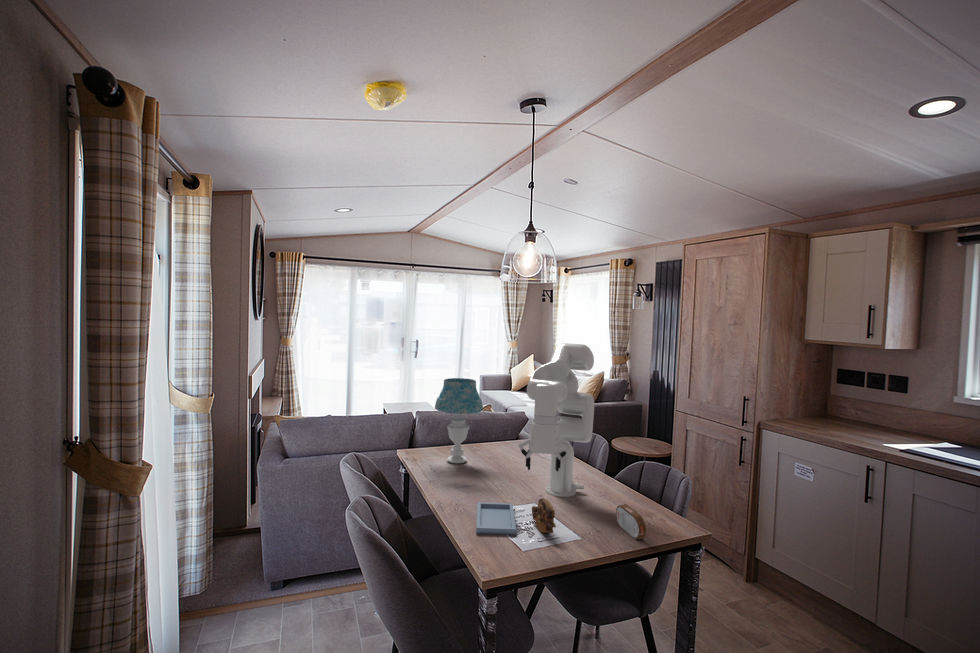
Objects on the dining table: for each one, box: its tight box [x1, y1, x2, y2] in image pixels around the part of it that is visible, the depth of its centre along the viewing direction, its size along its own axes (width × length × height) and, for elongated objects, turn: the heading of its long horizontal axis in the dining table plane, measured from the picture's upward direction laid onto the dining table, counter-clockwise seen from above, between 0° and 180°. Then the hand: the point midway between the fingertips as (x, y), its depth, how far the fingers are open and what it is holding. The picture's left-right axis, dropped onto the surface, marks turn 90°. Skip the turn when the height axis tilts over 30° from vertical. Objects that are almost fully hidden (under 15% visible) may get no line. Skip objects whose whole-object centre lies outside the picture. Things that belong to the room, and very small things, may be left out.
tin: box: [615, 503, 647, 540], centre depth 159 cm, size 15×3×8 cm, turn 16°
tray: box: [475, 501, 517, 536], centre depth 165 cm, size 13×21×2 cm, turn 0°
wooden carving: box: [531, 498, 557, 534], centre depth 159 cm, size 16×5×10 cm, turn 20°
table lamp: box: [434, 377, 484, 464], centre depth 230 cm, size 24×24×40 cm
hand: (542, 469), depth 159 cm, fingers open, 9 cm apart
